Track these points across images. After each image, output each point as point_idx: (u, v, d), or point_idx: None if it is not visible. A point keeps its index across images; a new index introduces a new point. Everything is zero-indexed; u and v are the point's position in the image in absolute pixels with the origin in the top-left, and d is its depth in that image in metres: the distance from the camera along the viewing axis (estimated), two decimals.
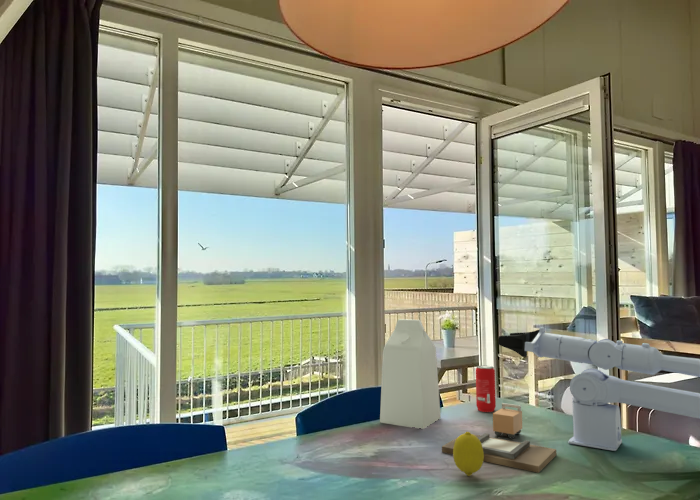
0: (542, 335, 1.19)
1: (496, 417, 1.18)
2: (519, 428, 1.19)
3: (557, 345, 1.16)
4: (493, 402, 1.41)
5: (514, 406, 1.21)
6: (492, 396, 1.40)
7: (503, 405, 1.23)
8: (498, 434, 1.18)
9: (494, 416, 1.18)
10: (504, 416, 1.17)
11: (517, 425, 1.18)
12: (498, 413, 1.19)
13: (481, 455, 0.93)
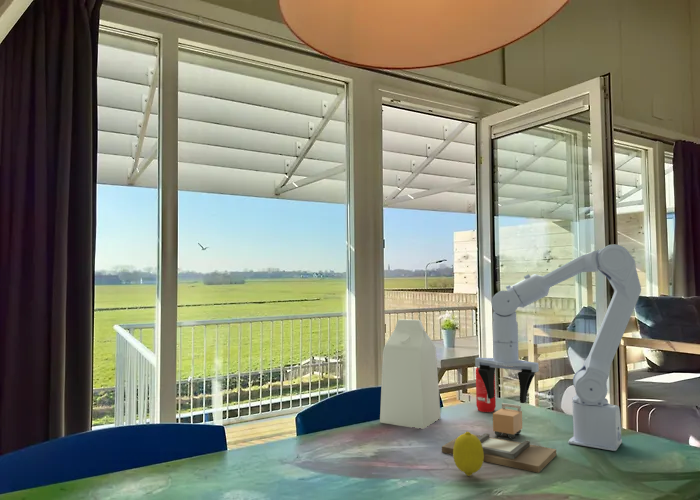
0: (509, 361, 1.18)
1: (496, 417, 1.18)
2: (519, 428, 1.19)
3: (516, 344, 1.19)
4: (493, 402, 1.41)
5: (514, 406, 1.21)
6: None
7: (503, 405, 1.23)
8: (498, 434, 1.18)
9: (494, 416, 1.18)
10: (504, 416, 1.17)
11: (517, 425, 1.18)
12: (498, 413, 1.19)
13: (481, 455, 0.93)
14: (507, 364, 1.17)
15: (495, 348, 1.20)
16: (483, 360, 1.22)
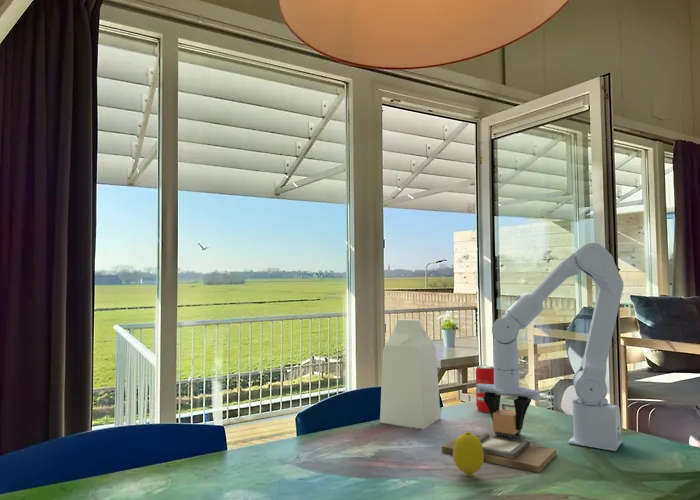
0: (510, 388, 1.17)
1: (496, 417, 1.18)
2: None
3: (517, 371, 1.18)
4: None
5: (514, 406, 1.21)
6: None
7: (503, 405, 1.23)
8: (498, 434, 1.18)
9: (494, 416, 1.18)
10: (504, 416, 1.17)
11: None
12: (498, 413, 1.19)
13: (481, 455, 0.93)
14: (508, 392, 1.17)
15: (496, 375, 1.19)
16: (484, 387, 1.22)
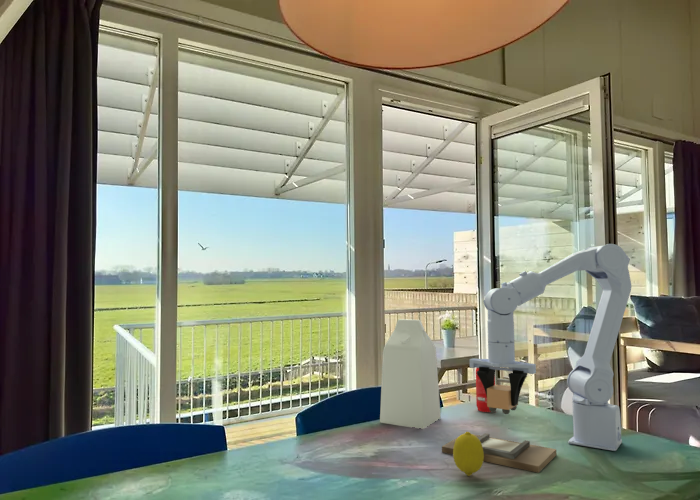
0: (504, 362, 1.11)
1: (490, 392, 1.13)
2: None
3: (512, 344, 1.12)
4: None
5: None
6: None
7: (498, 381, 1.17)
8: (492, 410, 1.12)
9: (488, 391, 1.13)
10: (499, 391, 1.11)
11: None
12: (492, 388, 1.13)
13: (481, 455, 0.93)
14: (502, 365, 1.11)
15: (490, 348, 1.14)
16: (478, 361, 1.16)
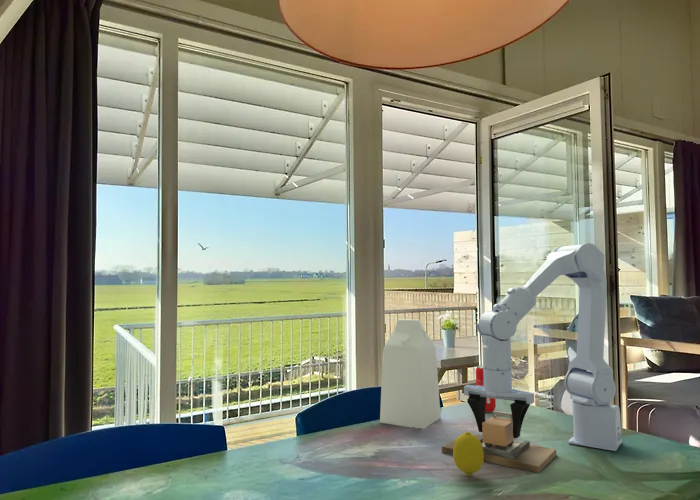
0: (501, 391, 1.05)
1: (485, 427, 1.06)
2: (512, 439, 1.06)
3: (509, 371, 1.06)
4: (493, 402, 1.41)
5: (506, 414, 1.09)
6: None
7: (494, 413, 1.10)
8: (488, 446, 1.06)
9: (484, 426, 1.06)
10: (495, 426, 1.05)
11: (509, 436, 1.05)
12: (488, 422, 1.06)
13: (481, 455, 0.93)
14: (499, 394, 1.05)
15: (485, 376, 1.07)
16: (472, 389, 1.09)
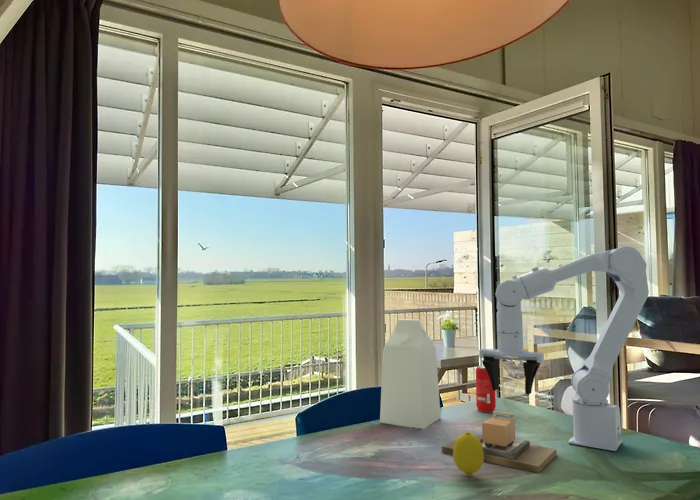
0: (514, 351, 1.16)
1: (485, 427, 1.06)
2: (512, 439, 1.06)
3: (520, 334, 1.17)
4: (493, 402, 1.41)
5: (506, 414, 1.09)
6: (492, 396, 1.40)
7: (494, 413, 1.10)
8: (488, 446, 1.06)
9: (484, 426, 1.06)
10: (495, 426, 1.05)
11: (509, 436, 1.05)
12: (488, 422, 1.06)
13: (481, 455, 0.93)
14: (512, 355, 1.16)
15: (499, 339, 1.18)
16: (487, 351, 1.21)
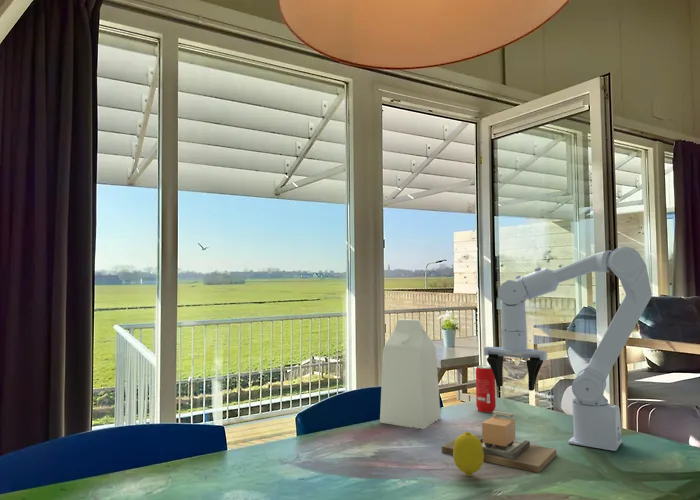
0: (517, 349, 1.20)
1: (485, 427, 1.06)
2: (512, 439, 1.06)
3: (524, 333, 1.20)
4: (493, 402, 1.41)
5: (506, 414, 1.09)
6: (492, 396, 1.40)
7: (494, 413, 1.10)
8: (488, 446, 1.06)
9: (484, 426, 1.06)
10: (495, 426, 1.05)
11: (509, 436, 1.05)
12: (488, 422, 1.06)
13: (481, 455, 0.93)
14: (516, 352, 1.19)
15: (504, 337, 1.22)
16: (492, 349, 1.24)
